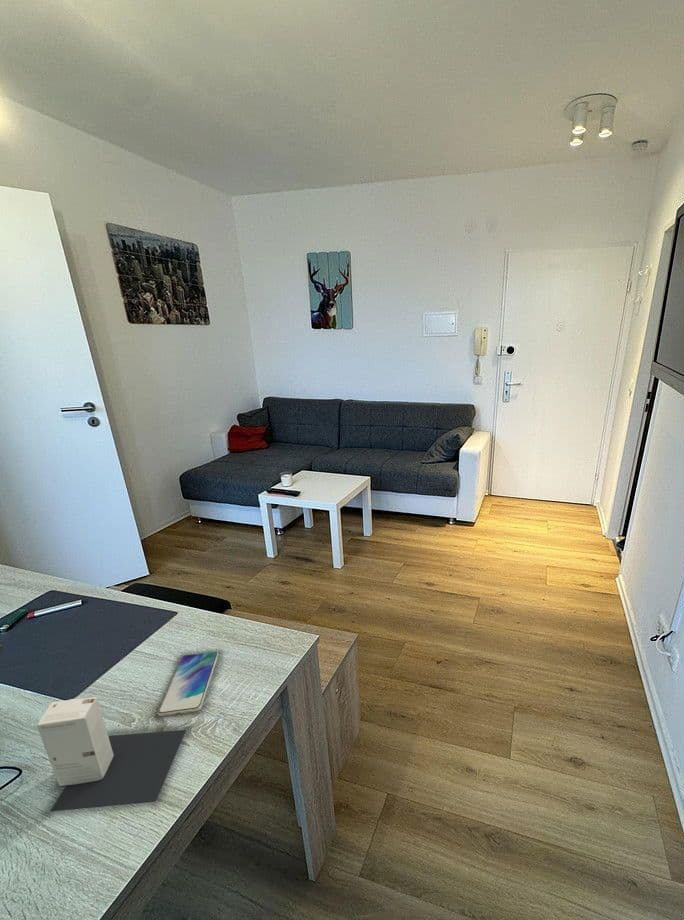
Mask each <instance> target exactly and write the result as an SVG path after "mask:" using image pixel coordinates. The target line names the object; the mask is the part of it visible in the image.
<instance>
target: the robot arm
mask: <svg viewBox="0 0 684 920" xmlns="http://www.w3.org/2000/svg"><path fill="white" fill-rule="evenodd" d="M3 649H4V646H3V644H1V643H0V654H1V653H2V652H3Z"/></svg>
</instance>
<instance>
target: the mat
mask: <svg viewBox="0 0 684 920" xmlns="http://www.w3.org/2000/svg"><path fill="white" fill-rule="evenodd" d="M186 732H187V729H178V730H165V731H154V732H153V731H152V732H140V733H128V734H115V735H108V737H109V741H110V744H111V748H112V751H113V754H114V756H113V758H112V760H111V763H110V765H109V767H108V769H107V771H106V773H105V775H104V777H103V779H101V780H98V781H93V782H87V783H81V784H74V785H65V786H64V787H63V790H62V791H61V793H60V795H59V796H58V797H57V799H56V801H55V802H54V804H53V805H52V807H51V809H49V810H50V811H49V812H59V811H61V812H62V811H70V810H78V809H79V810H81V809H90V808H91V809H92V808H101V807H102V808H103V807H111V806H112V807H114V806H123V805H124V806H125V805H133V804H134V805H135V804H144V803H155V802H157V801H158V798H159V795H160V793H161V791H162V788H163V786H164V784H165V781H166V779H167V776H168V774H169V772H170V771H171V770H170V769H171V767H172V765H173V762H174V761H175V758H176V755H177V754H178V751H179V748H180V746H181V743H182V741H183V739H184V737H185V734H186Z"/></svg>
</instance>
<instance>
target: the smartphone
mask: <svg viewBox="0 0 684 920" xmlns="http://www.w3.org/2000/svg"><path fill="white" fill-rule="evenodd" d="M218 658H219V653H218V652H217V651H209V652H199V653H193V654H185V655H182V657H181V658H180V660H179V662H178V665H177V667H176V669H175V672H174V674H173V676H172V678H171V680H170V683H169V685H168V686H167V689H166V692H165V694H164V697H163V699H162V701H161V703H160V705H159V708H158V710H157V715H158V717H163V716H165V717H166V716H172V715H173V716H174V715H180V714H187V713H196V712H198V711H200V710H201V709H202V706H203V704H204V701H205V698H206V695H207V692H208V689H209V686H210V682H211V679H212V676H213V673H214V670H215V667H216V665H217V661H218Z"/></svg>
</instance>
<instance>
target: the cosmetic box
mask: <svg viewBox="0 0 684 920" xmlns="http://www.w3.org/2000/svg"><path fill="white" fill-rule="evenodd" d="M98 699H99V698H98V697H97V696H93V697H85V698H84V697H83V698H71V699H66V700H59V701H52V702H51V703H50V704H49V706H48V708H46V710H45V711H44V713H43V715H42V716H41V717H40V719H39V721H38V722H37V724H36V727H37V730H38V733H39V735H40V738H41V741H42V743H43V746H44V749H45V752H46V754H47V757H48V760H49V763H50V765H51V768H52V771H53V774H54V776H55V779H56V781H57V784H58V785H57V786H60V787H66V785H74V784H81V783H87V782H93V781H98V780H101V779H103V777H104V775H105V773H106V771H107V769H108V767H109V765H110V763H111V760H112V758H113V756H114V754H113V751H112V748H111V744H110V741H109V737H108V736H109V734H108V730H107V727H106V724H105V721H104V717H103V713H102V710H101V707H100V703H99V700H98Z"/></svg>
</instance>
